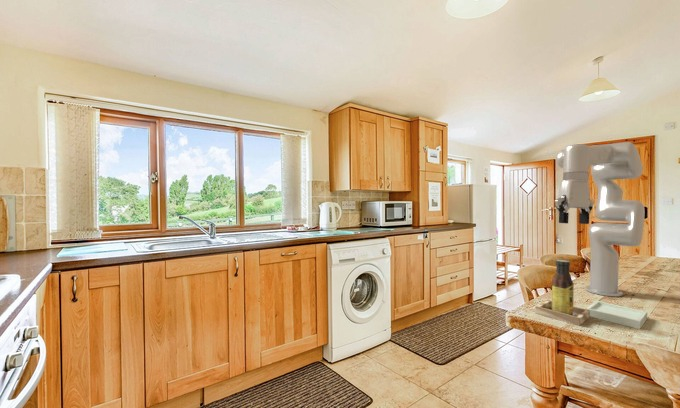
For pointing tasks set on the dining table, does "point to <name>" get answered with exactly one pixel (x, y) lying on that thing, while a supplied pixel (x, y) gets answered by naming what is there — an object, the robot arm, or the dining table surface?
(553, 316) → the tan flat square frame
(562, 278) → the sauce bottle
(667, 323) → the dining table surface
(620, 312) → the shallow square tray
